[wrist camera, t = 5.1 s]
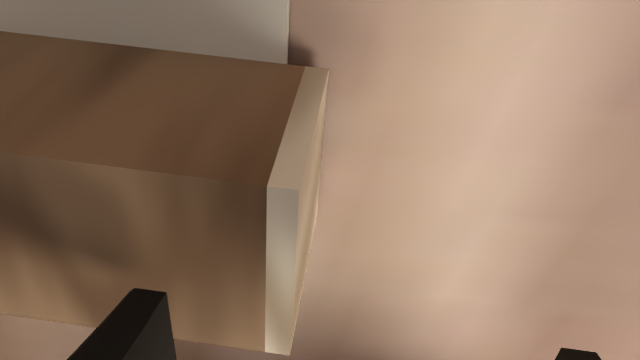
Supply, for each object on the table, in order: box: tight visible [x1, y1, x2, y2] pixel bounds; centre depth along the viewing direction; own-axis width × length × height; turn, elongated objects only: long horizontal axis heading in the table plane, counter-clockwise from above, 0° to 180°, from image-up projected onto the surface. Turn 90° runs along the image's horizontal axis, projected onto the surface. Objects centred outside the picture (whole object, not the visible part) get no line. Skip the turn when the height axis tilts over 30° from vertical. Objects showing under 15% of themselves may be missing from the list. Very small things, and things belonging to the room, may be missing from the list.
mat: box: [0, 0, 290, 64], centre depth 16 cm, size 12×10×1 cm
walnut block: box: [0, 31, 329, 356], centre depth 14 cm, size 5×5×9 cm
